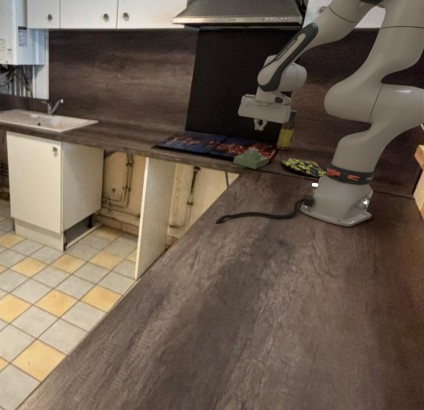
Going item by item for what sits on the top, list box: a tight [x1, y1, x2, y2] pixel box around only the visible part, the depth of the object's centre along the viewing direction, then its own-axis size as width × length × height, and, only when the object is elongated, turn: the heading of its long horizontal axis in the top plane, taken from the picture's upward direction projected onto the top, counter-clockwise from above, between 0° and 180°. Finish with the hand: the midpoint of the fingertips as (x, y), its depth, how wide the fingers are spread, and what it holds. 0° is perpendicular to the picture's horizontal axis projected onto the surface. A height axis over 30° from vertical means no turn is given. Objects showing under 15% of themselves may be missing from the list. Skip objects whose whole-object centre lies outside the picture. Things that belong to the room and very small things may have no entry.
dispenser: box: [232, 150, 269, 170], centre depth 159 cm, size 12×10×5 cm
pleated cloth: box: [281, 157, 327, 178], centre depth 155 cm, size 20×16×6 cm
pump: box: [247, 147, 260, 154], centre depth 157 cm, size 4×4×2 cm
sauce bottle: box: [276, 109, 298, 151], centre depth 184 cm, size 7×6×20 cm
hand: (258, 130), depth 153 cm, fingers closed
